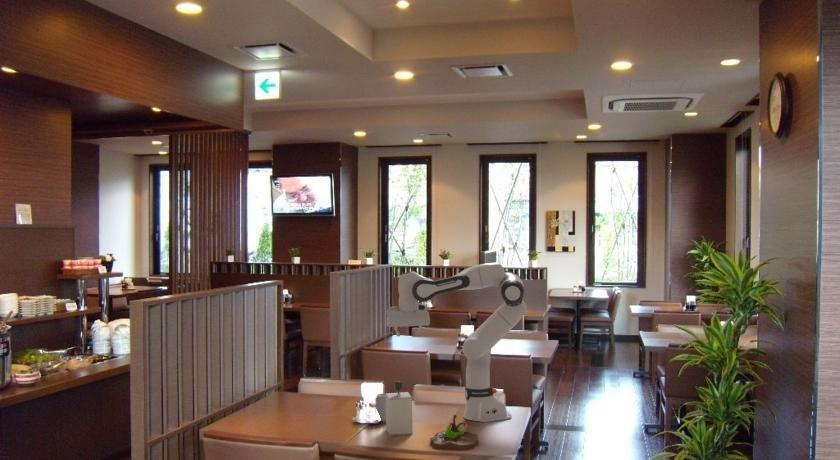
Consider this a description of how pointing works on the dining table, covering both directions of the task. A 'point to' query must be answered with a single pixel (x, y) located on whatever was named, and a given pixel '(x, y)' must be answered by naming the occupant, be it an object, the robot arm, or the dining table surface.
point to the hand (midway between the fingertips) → (408, 335)
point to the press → (399, 414)
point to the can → (381, 406)
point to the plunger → (398, 386)
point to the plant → (454, 438)
